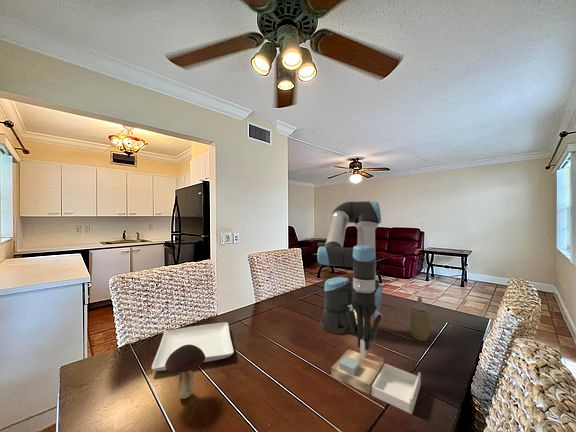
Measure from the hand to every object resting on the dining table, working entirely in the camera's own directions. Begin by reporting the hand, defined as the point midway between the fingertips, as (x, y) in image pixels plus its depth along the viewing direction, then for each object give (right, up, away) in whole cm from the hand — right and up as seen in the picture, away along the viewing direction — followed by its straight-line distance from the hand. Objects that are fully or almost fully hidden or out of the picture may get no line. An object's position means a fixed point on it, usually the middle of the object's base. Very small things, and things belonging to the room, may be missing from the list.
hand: (363, 357), depth 82 cm
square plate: (-64, -5, +13) cm, 65 cm away
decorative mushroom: (-57, -4, -12) cm, 58 cm away
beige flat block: (-3, -4, -2) cm, 5 cm away
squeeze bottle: (+32, -5, +22) cm, 39 cm away
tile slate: (-6, -1, -4) cm, 7 cm away
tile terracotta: (+3, -1, -2) cm, 3 cm away
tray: (+7, -4, -10) cm, 13 cm away
